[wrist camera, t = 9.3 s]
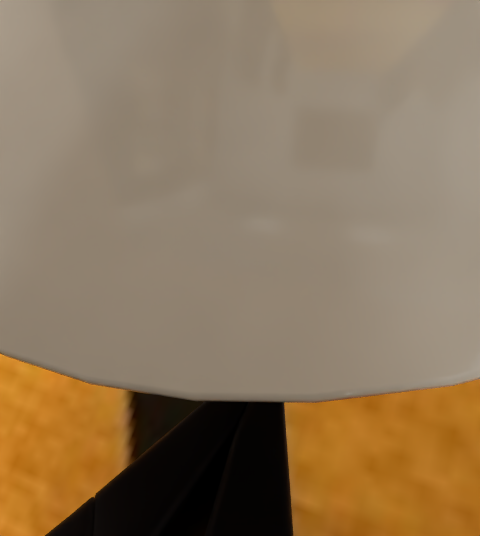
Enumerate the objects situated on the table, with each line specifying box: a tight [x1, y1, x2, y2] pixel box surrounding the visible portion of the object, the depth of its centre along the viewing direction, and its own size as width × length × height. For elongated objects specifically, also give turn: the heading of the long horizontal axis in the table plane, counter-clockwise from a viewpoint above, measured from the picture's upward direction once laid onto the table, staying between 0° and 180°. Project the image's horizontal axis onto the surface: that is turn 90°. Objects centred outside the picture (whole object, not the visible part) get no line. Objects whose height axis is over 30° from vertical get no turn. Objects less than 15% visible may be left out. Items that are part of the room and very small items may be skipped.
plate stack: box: [0, 0, 480, 403], centre depth 11 cm, size 14×14×13 cm
